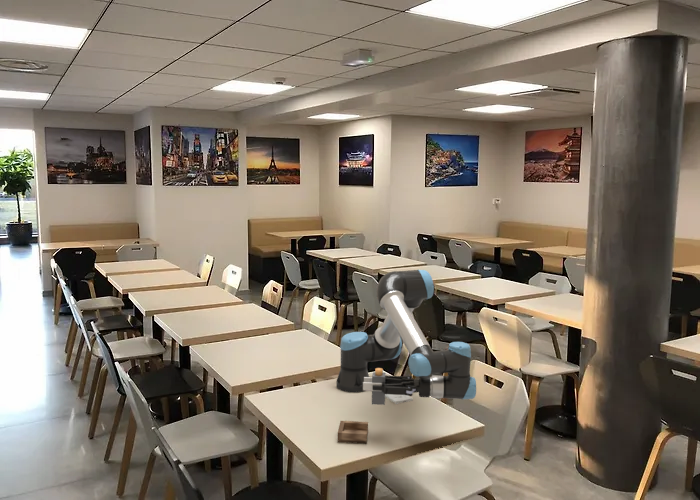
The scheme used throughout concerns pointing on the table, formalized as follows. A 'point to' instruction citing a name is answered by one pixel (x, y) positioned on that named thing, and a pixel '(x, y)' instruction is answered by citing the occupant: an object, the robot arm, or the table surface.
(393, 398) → the external hard drive
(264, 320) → the table surface
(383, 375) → the connector plug
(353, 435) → the holder
